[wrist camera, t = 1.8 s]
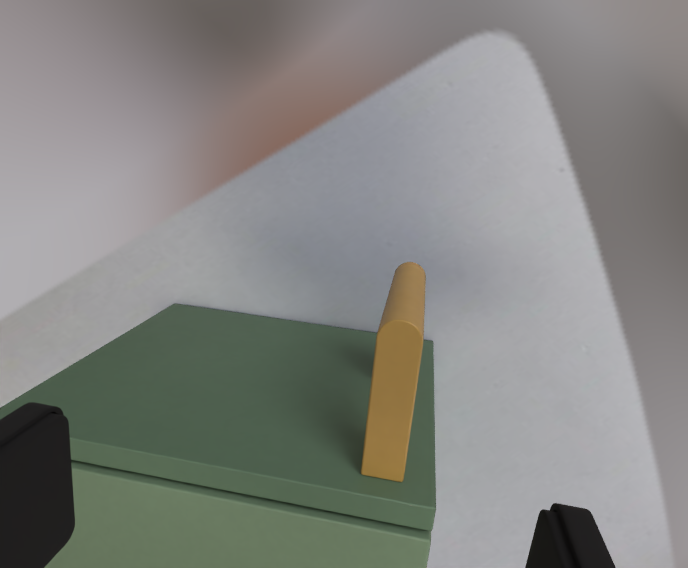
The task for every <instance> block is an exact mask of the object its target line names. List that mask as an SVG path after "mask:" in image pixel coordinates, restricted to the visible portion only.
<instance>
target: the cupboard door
mask: <svg viewBox="0 0 688 568" xmlns="http://www.w3.org/2000/svg"><path fill="white" fill-rule="evenodd" d="M425 281H426V275H425V272H424V270H423V268H422V267H421V266H420V265H418V264H416V263H413V262H406V263H403V264H401V265H400V266H399V267H398V268H397V269H396V271H395V274H394V277H393V281H392V284H391V288H390V291H389V295H388V298H387V302H386V305H385V308H384V312H383V315H382V319H381V322H380V326H379V329H378V333H373V332H366V331H359V330H353V329H346V328H339V327H332V326H325V325H318V324H311V323H305V322H298V321H291V320H284V319H277V318H270V317H264V316H257V315H250V314H243V313H236V312H229V311H222V310H216V309H209V308H202V307H195V306H188V305H181V304H173V305H171V306H170V307H168V308H166V309H165V310H163V311H161V312H160V313H158V314H156V315H155V316H153V317H151V318H150V319H148V320H146V321H145V322H143V323H141V324H140V325H138V326H136V327H135V328H133V329H131V330H130V331H128V332H126V333H125V334H123V335H121V336H120V337H118V338H116V339H115V340H113V341H111V342H109V343H108V344H106V345H104V346H103V347H101V348H99V349H98V350H96V351H94V352H93V353H91V354H89V355H88V356H86V357H84V358H83V359H81V360H79V361H78V362H76V363H74V364H73V365H71V366H69V367H68V368H66V369H64V370H63V371H61V372H59V373H58V374H56V375H54V376H53V377H51V378H49V379H48V380H46V381H44V382H43V383H41V384H39V385H38V386H36V387H34V388H33V389H31V390H29V391H28V392H26V393H24V394H23V395H21V396H19V397H18V398H16V399H14V400H13V401H11V402H9V403H8V404H6V405H4V406H3V407H1V408H0V419H2V418H3V417H5V416H7V415H8V414H10V413H11V412H13V411H15V410H16V409H18V408H19V407H21V406H23V405H24V404H27V403H29V402H35V403H41V404H46V405H51V406H56V407H59V408H61V410H62V411H63V415H64V416H66V417H67V419H68V422H69V435H70V450H71V460H76V461H81V462H86V463H91V464H96V465H101V466H106V467H111V468H116V469H121V470H126V471H131V472H136V473H141V474H146V475H151V476H156V477H161V478H166V479H171V480H176V481H181V482H186V483H191V484H196V485H201V486H206V487H211V488H216V489H221V490H226V491H231V492H236V493H241V494H247V495H252V496H257V497H262V498H267V499H272V500H277V501H282V502H287V503H292V504H297V505H302V506H307V507H312V508H317V509H322V510H327V511H332V512H337V513H342V514H347V515H352V516H357V517H362V518H367V519H372V520H377V521H382V522H387V523H392V524H397V525H402V526H407V527H412V528H418V529H423V530H428V531H432V529H433V523H434V517H435V511H436V484H435V421H434V358H433V341H428V340H423V336H424V309H425Z"/></svg>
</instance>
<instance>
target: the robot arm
mask: <svg viewBox="0 0 688 568" xmlns="http://www.w3.org/2000/svg"><path fill="white" fill-rule="evenodd" d="M74 527H75V513H74V497H73V481H72V466H71V450H70V435H69V422H68V419H67V417H66V416H64V415H63V411H62V410H61V408H59V407H56V406H51V405H46V404H41V403H35V402H29V403H27V404H24V405H23V406H21V407H19V408H18V409H16V410H15V411H13V412H11V413H10V414H8V415H7V416H5V417H3V418H2V419H0V568H44V567H45V566H46V565H47V564H48V563H49V562H50V561H51V560H52V559H53V558H54V557H55V555H56V554H57V553H58V552H59V551H60V550H61V549H62V548H63V547H64V546H65V545H66V543H67V542H68V541H69V539H70V538H71V536H72V533H73V531H74ZM525 568H615V565H614V563H613V561H612V559H611V556H610V554H609V552H608V550H607V547H606V545H605V543H604V541H603V538H602V536H601V534H600V532H599V529H598V527H597V525H596V523H595V520H594V518H593V516H592V514H591V512H590V511H589V510H587V509H583V508H578V507H573V506H568V505H563V504H557V503H555V504H553V505H552V506H551V509H550V511H549V510H541V511H540V513H539V516H538V520H537V524H536V528H535V532H534V536H533V540H532V544H531V548H530V552H529V555H528V559H527V563H526V567H525Z"/></svg>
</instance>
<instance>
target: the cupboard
mask: <svg viewBox="0 0 688 568" xmlns="http://www.w3.org/2000/svg"><path fill="white" fill-rule="evenodd" d="M71 466H72V481H73V497H74V513H75V527H74V531H73V533H72V536H71V538H70V539H69V541H68V542H67V543H66V545H65V546H64V547H63V548H62V549H61V550H60V551H59V552H58V553H57V554H56V555H55V557H54V558H53V559H52V560H51V561H50V562H49V563H48V564H47V565H46V566H45V567H44V568H426V567H427V561H428V556H429V550H430V544H431V531H428V530H423V529H418V528H412V527H407V526H402V525H397V524H392V523H387V522H382V521H377V520H372V519H367V518H362V517H357V516H352V515H347V514H342V513H337V512H332V511H327V510H322V509H317V508H312V507H307V506H302V505H297V504H292V503H287V502H282V501H277V500H272V499H267V498H262V497H257V496H252V495H247V494H241V493H236V492H231V491H226V490H221V489H216V488H211V487H206V486H201V485H196V484H191V483H186V482H181V481H176V480H171V479H166V478H161V477H156V476H151V475H146V474H141V473H136V472H131V471H126V470H121V469H116V468H111V467H106V466H101V465H96V464H91V463H86V462H81V461H76V460H71Z"/></svg>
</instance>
